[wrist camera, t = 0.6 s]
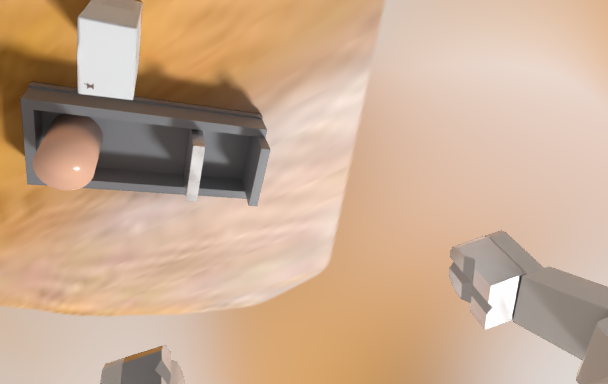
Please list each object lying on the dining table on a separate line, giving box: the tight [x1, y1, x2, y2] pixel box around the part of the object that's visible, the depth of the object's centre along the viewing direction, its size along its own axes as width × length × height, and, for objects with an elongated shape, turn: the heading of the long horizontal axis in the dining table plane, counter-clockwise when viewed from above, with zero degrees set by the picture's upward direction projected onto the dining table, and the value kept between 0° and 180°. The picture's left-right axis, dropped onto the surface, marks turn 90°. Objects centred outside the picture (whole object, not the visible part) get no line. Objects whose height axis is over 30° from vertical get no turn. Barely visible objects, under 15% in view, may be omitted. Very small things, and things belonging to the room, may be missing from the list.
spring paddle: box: [184, 129, 205, 201], centre depth 47 cm, size 7×1×6 cm, turn 165°
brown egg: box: [33, 114, 103, 190], centre depth 43 cm, size 5×5×7 cm
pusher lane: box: [20, 82, 270, 206], centre depth 46 cm, size 10×24×7 cm, turn 75°
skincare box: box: [77, 0, 143, 100], centre depth 37 cm, size 6×4×12 cm
